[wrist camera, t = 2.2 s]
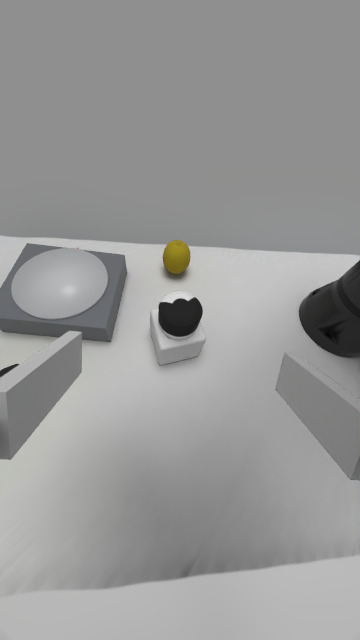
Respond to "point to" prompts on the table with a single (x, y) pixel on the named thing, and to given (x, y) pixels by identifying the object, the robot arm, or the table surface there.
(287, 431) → the table surface
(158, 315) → the medicine bottle
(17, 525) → the table surface
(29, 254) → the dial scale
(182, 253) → the lemon
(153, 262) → the table surface
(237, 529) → the table surface
